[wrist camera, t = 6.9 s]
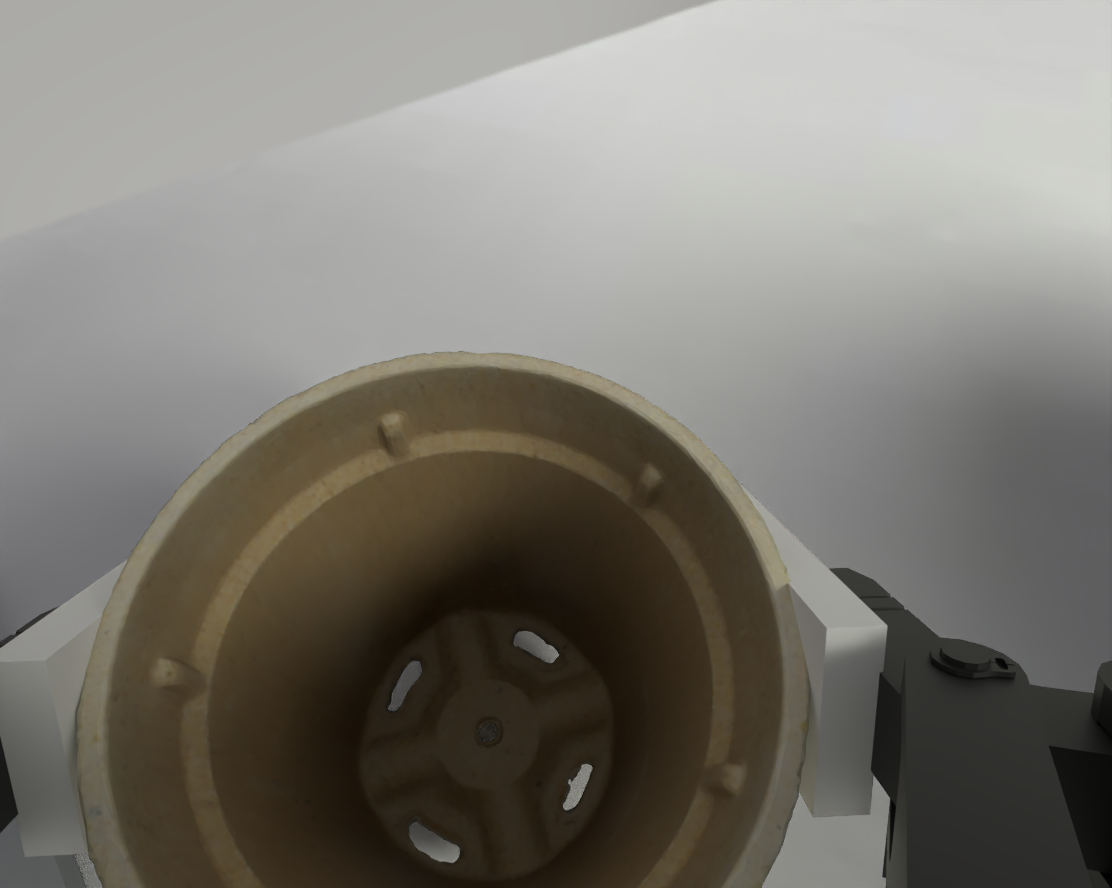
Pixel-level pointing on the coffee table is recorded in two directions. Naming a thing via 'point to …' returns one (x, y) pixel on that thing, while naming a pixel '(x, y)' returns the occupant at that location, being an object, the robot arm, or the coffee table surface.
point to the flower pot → (448, 648)
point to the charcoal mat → (34, 865)
